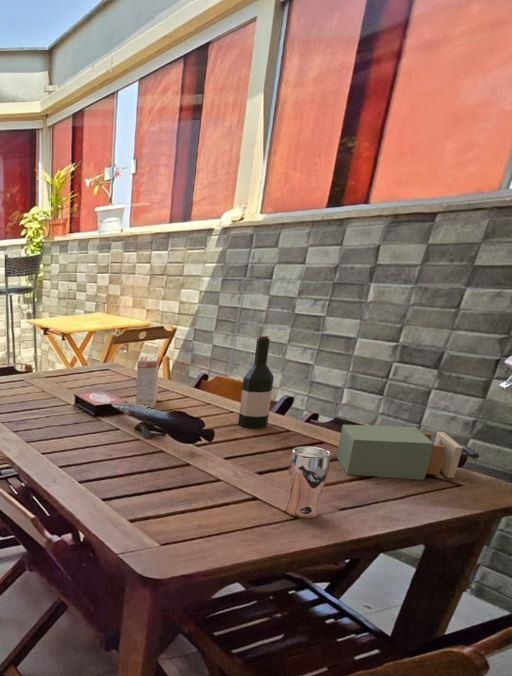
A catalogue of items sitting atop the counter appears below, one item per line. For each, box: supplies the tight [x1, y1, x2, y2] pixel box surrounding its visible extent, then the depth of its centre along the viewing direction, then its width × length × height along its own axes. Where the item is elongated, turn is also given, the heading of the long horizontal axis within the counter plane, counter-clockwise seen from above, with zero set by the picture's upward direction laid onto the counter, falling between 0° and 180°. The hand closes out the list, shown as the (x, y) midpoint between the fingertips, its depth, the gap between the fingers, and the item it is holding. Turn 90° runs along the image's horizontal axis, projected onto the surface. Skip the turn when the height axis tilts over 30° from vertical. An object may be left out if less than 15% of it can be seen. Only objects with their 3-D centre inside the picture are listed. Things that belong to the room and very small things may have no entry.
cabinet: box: [335, 424, 435, 481], centre depth 127 cm, size 15×13×10 cm
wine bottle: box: [237, 335, 275, 430], centre depth 162 cm, size 8×8×30 cm
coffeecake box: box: [135, 353, 160, 408], centre depth 200 cm, size 15×7×20 cm, turn 150°
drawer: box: [422, 431, 480, 479], centre depth 123 cm, size 18×11×8 cm, turn 61°
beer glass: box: [284, 445, 332, 519], centre depth 110 cm, size 7×7×15 cm
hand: (503, 389), depth 112 cm, fingers closed
